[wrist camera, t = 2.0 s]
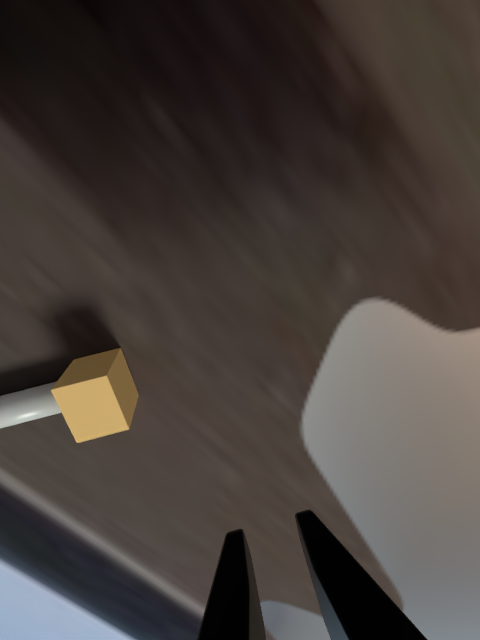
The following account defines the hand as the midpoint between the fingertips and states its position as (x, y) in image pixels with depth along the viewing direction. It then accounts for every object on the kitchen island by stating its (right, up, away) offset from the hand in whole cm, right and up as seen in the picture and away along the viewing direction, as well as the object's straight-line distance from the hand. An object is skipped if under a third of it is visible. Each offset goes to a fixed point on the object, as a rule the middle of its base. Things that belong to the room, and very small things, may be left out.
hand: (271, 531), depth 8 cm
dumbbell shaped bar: (-14, 0, +10) cm, 17 cm away
